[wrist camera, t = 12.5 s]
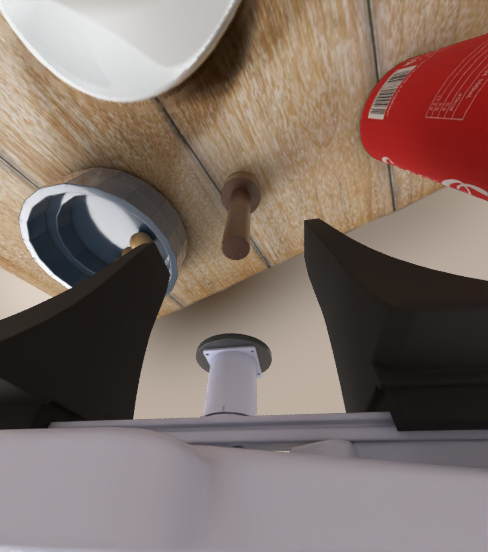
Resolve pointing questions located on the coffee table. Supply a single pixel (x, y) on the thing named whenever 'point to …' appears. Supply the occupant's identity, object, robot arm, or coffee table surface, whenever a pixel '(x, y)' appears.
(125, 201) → the bowl
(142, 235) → the bead
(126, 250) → the bead
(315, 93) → the coffee table surface
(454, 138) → the beverage can
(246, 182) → the muddler
